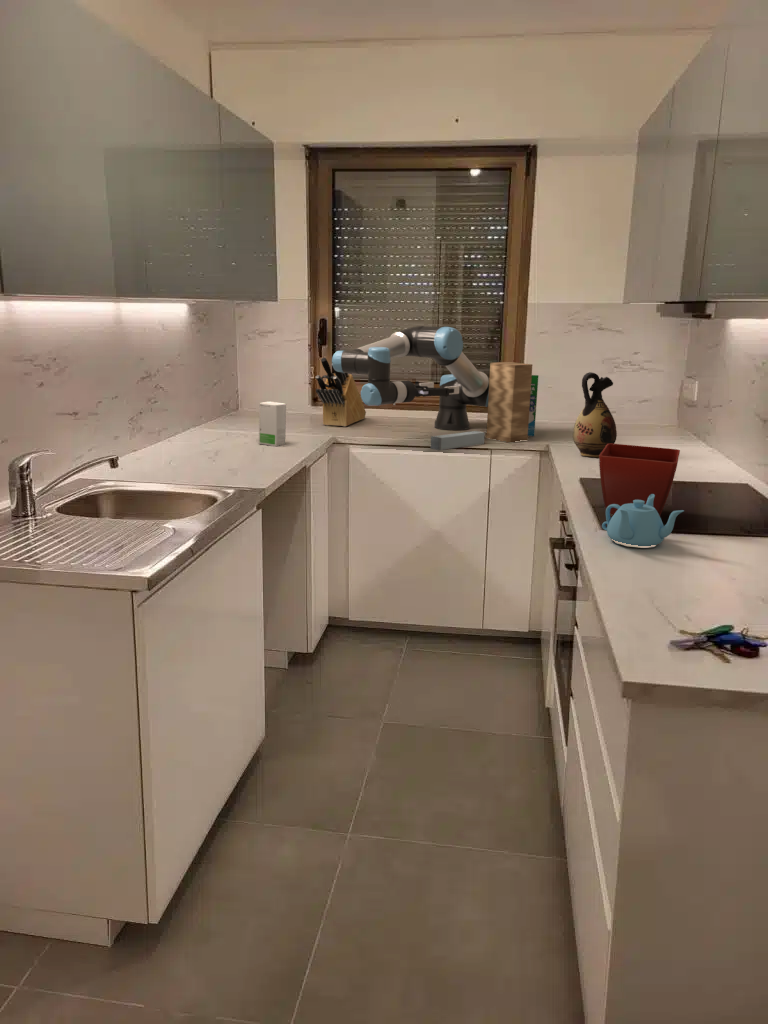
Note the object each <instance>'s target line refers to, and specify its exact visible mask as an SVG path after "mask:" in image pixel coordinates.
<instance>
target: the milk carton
mask: <svg viewBox="0 0 768 1024" xmlns="http://www.w3.org/2000/svg"><path fill="white" fill-rule="evenodd" d="M538 385H539V375H537V374H532V379H531V394H530V408H529V423H528V437H535V432H536V431H535V429H536V428H535V427H536V417H537V415H536V414H537V403H538V402H537V399H538V391H539V390H538V387H539V386H538Z"/></svg>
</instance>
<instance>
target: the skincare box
mask: <svg viewBox="0 0 768 1024" xmlns="http://www.w3.org/2000/svg"><path fill="white" fill-rule="evenodd" d="M258 406H259V407H258V408H259V409H258V412H259V413H258V443H259V445H265V446H271V447H279V445H280V446H284V445H286V437H287V436H286V434H287V433H286V428H287V427H286V426H287V424H286V423H287V404H286V403H283V402H276V401H270V400H269V401H264V402H259V405H258Z"/></svg>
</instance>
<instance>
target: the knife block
mask: <svg viewBox="0 0 768 1024" xmlns="http://www.w3.org/2000/svg"><path fill="white" fill-rule="evenodd" d="M320 361H321V366H322V368H323V370H324V371H325V372H326V375H325V374H324V375H322V376H320V375H316V376H315V379H316V380H317V384H318V386H319V388H316V389H315V394H317V396H318V398H319V399H320V401H321V403H322V423H323V426H324V425H325V426H327V427H328V426H342V427H344V428H345V427H346V428H347V426H350V425H352V424H354V423H356V422H359V421H362V420H364V419H365V418H366V413H367V411H366V408H365V406H364V402H363V401H362V398H361V394H360V392H359V390H358V387H357V385H356V381H355V379H354V376H353V375H352V373H343V372H337V371H335V370H334V369H333V370H334V373H333V372H332V371H331V366H330V364H329V361H328V359H327V358H326V357H322V358H321V360H320ZM324 379H326V380H325V381H324Z"/></svg>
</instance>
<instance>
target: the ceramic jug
mask: <svg viewBox="0 0 768 1024" xmlns="http://www.w3.org/2000/svg"><path fill="white" fill-rule="evenodd" d="M590 379H591V380H592V379H593V382H592V384H591V386H590V387H589V386H588V381H589V380H590ZM613 385H614V382H613V380H612V379H611V378H610V377H608V376H605V377H603V376H601V377H600V376H599V374H597V373H595V372H592V371H591V372H590V371H589V372H586V373H584V375H583V376H582V379H581V388H582V393H583V397H584V407H583V408H582V410H581V411H580V413H579V414H578V416H577V418H576V420H575V423H574V426H573V429H572V430H573V431H572V440H573V443H574V445H575V446H576V447H577V449H578V451H579V452H580V453H579V454H580V456H582V457H583V456H584V457H591V458H599V455H600V453H601V452H602V451H603V449H604V448H605V446H606V445H607V444H610V443H612V444H616V440H617V437H618V435H617V434H618V433H617V432H618V431H617V426H616V425H617V424H616V422H615V418H614V416H613V414H612V413H611V411H610V408H609V407H608V405H607V404H606V402H605V401H604V398H603V394H602V392H603V391H604V390H606V389H608V388H610V387H612V386H613ZM590 392H592V393H591V396H590Z"/></svg>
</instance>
